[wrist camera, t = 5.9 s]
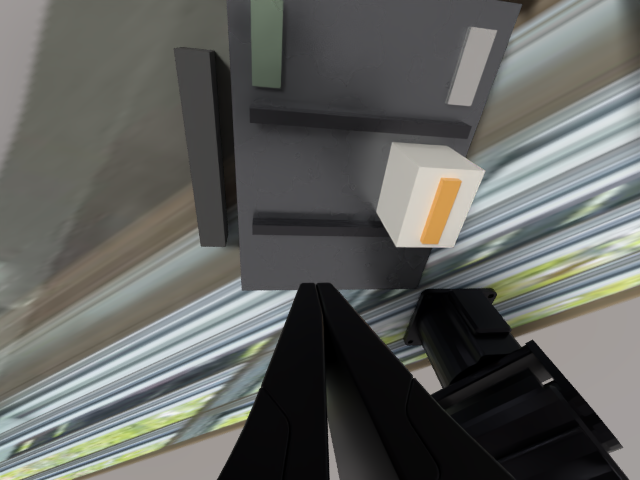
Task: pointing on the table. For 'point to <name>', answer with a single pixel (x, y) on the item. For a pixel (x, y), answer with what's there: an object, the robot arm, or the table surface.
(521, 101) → the table surface
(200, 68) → the dark grey bar
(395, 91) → the panel
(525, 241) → the table surface
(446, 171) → the breaker lever
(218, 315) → the table surface
